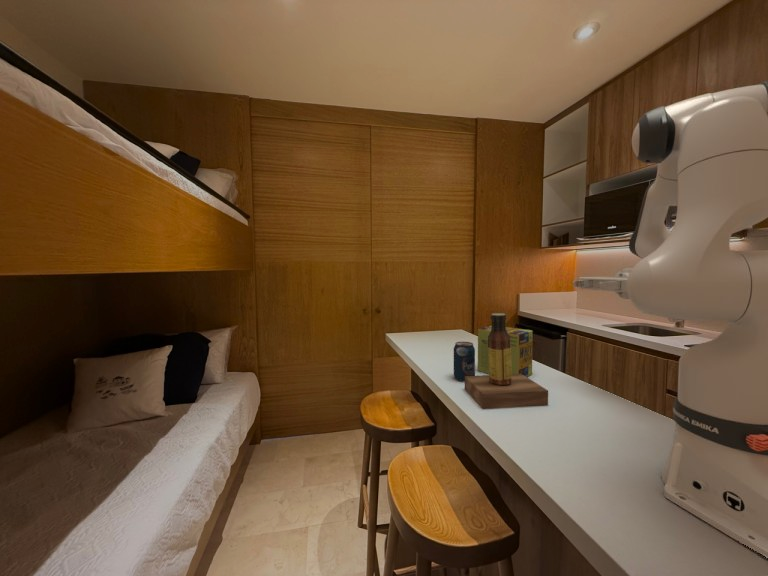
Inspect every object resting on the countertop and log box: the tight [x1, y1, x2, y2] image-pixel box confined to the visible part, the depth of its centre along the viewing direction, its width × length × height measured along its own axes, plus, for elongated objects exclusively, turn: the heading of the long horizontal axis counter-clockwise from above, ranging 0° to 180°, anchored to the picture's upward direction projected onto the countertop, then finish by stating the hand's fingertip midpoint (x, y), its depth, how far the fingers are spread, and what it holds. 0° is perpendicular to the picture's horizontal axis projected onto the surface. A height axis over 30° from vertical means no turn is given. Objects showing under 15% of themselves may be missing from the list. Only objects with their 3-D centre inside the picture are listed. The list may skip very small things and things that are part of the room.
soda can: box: [453, 341, 476, 383], centre depth 107 cm, size 7×7×12 cm
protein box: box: [477, 325, 534, 378], centre depth 112 cm, size 10×15×16 cm
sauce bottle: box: [488, 312, 512, 385], centre depth 91 cm, size 6×6×20 cm
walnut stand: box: [464, 374, 549, 410], centre depth 92 cm, size 14×18×4 cm
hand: (586, 284), depth 90 cm, fingers open, 8 cm apart
